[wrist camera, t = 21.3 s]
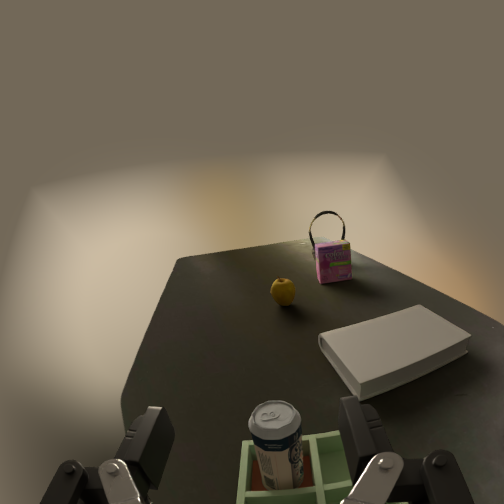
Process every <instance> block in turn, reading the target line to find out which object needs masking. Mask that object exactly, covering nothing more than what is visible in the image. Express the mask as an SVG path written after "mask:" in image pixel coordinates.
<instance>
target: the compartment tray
mask: <svg viewBox="0 0 504 504" xmlns="http://www.w3.org/2000/svg"><path fill="white" fill-rule="evenodd" d="M302 448H303V468H304V479H303V482H302V483H301V485H300V486H299V487H298V488H296V489H285V490H272V491H269V490H267V489H266V488H265V487H264V485H263V483H262V476H261V472H260V468H259V464H258V460H257V456H256V451H255V447H254V443H253V440H250V441H243V442H242V452H241V462H240V472H239V482H238V492H237V502H236V504H340V503H341V501H342V500H343V499H344V498H345V497H347V496H348V495H349V494H350V493H351V491H352V490H353V488H354V486H352V482H351V477H350V473H349V469H348V465H347V460H346V456H345V452H344V448H343V444H342V440H341V436H340V432H339V431H333V432H327V433H321V434H316V435H315V434H313V435H309V436H308V435H306V436H302ZM386 504H408V502H398V503H386Z"/></svg>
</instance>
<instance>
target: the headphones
mask: <svg viewBox="0 0 504 504" xmlns="http://www.w3.org/2000/svg"><path fill="white" fill-rule="evenodd" d="M328 213H330V214H334V215H337V216H338V217H339V218H340V219H341V220H342V218H341V217H340V216H339V215H338V214H336V213H335V212H332V211H323V212H321V213H319V214H317V215H316V216H315V218H314V219H313V221H314V220H315V219H316V218H317V217H319V216H321V215H323V214H328ZM313 221H312V222H311V224H310V227H309V236H310V240H311V243H312V246H313V250H312V254H313V257H314V259H315V261H316V254H315V243H314V241H313V238H312V235H311V231H310V229H311V225H312V223H313ZM342 222H343V220H342ZM344 238H345V224H344V222H343V234H342V238H341V240H344Z"/></svg>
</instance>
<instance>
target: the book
mask: <svg viewBox="0 0 504 504" xmlns="http://www.w3.org/2000/svg"><path fill="white" fill-rule="evenodd" d="M470 337H471V335H470V334H469V333H467V332H465V331H464V330H462V329H460V328H459V327H457V326H455V325H454V324H452V323H450V322H449V321H447V320H445V319H443V318H442V317H440V316H438V315H437V314H435V313H433V312H431V311H430V310H428V309H426V308H425V307H423V306H421V305H416V306H413V307H410V308H407V309H404V310H401V311H398V312H395V313H392V314H388V315H385V316H382V317H379V318H375V319H372V320H369V321H365V322H362V323H358V324H354V325H351V326H347V327H344V328H340V329H336V330H332V331H328V332H324V333H320V334H319V336H318V341H319V346H320V348H321V351H322V352H323V354H324V355H325V356H326V358H327V359H328V361H329V362H330V363H331V365H332V366H333V368H334V369H335V370H336V372H337V373H338V374H339V376H340V377H341V379H342V380H343V381H344V383H345V384H346V386H347V387H348V388H349V390H350V391H351V392H352V394H353V395H357V397H358V399H359V402H360V401H363V400H366V399H368V398H371V397H374V396H376V395H379V394H382V393H384V392H387V391H389V390H392V389H394V388H396V387H399V386H401V385H404V384H406V383H408V382H410V381H413V380H415V379H417V378H419V377H422V376H424V375H426V374H428V373H430V372H432V371H434V370H436V369H438V368H440V367H442V366H444V365H446V364H448V363H450V362H452V361H454V360H456V359H457V358H459V357H461V356H463V355H465V354H467V353H468V350H466V347H467V343H468V338H470Z"/></svg>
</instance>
